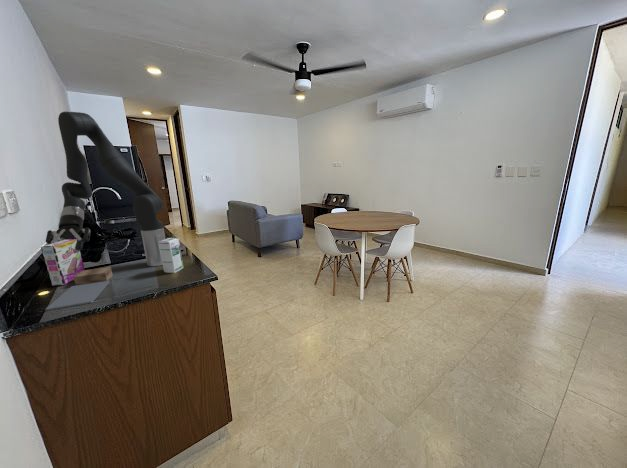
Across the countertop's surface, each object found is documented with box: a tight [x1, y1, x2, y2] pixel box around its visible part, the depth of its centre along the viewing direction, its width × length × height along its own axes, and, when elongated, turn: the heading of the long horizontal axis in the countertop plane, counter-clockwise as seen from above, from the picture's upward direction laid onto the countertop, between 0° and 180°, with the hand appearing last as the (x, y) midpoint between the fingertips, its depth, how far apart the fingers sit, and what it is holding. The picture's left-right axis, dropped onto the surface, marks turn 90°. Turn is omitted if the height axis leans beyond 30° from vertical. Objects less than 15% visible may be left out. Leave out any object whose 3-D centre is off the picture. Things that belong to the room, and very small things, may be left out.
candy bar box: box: [40, 238, 86, 287], centre depth 103 cm, size 11×5×16 cm, turn 5°
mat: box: [45, 280, 110, 312], centre depth 92 cm, size 12×18×1 cm, turn 23°
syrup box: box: [158, 237, 185, 274], centre depth 112 cm, size 6×6×14 cm
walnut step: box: [74, 266, 114, 286], centre depth 104 cm, size 10×7×4 cm
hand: (66, 251), depth 105 cm, fingers open, 7 cm apart
